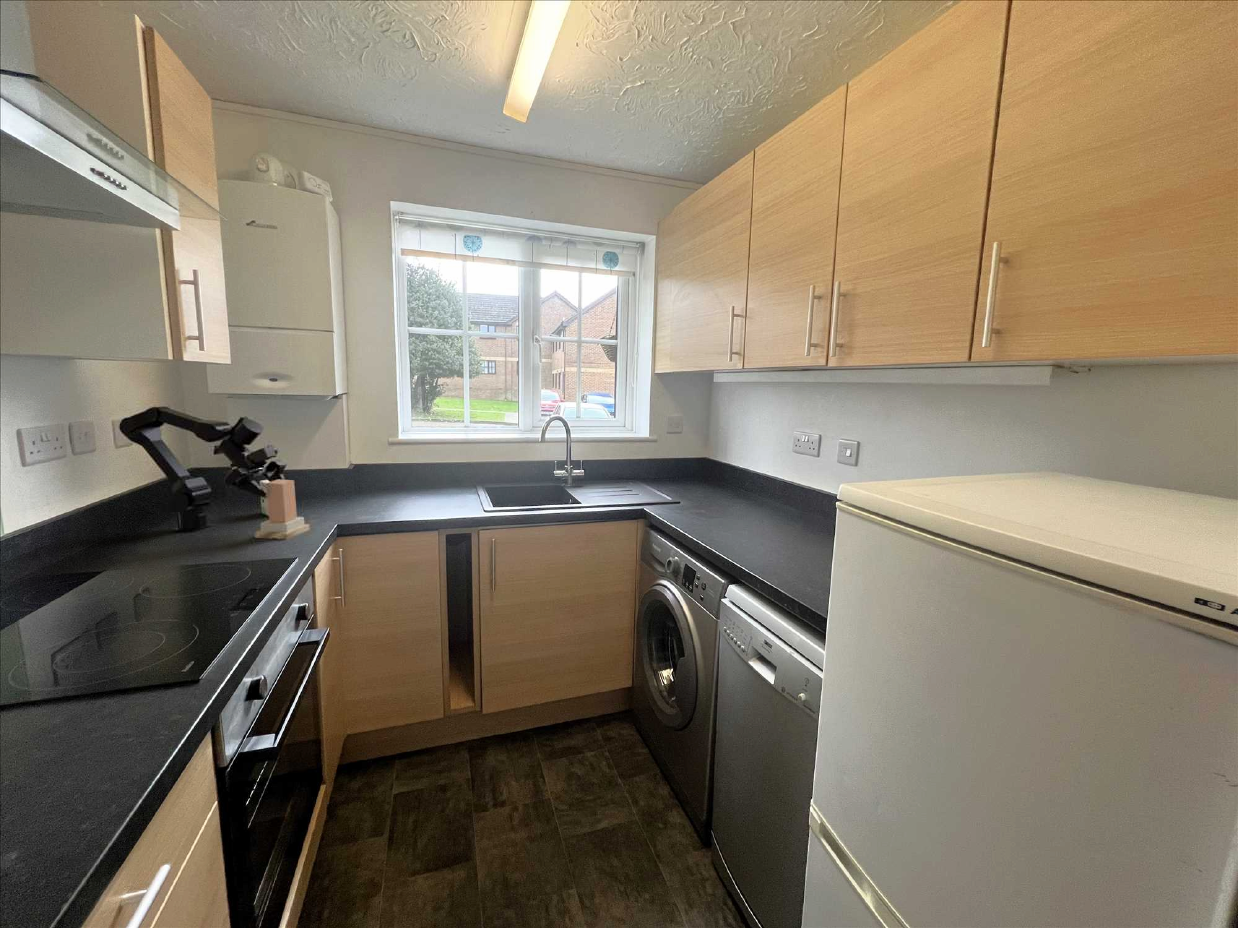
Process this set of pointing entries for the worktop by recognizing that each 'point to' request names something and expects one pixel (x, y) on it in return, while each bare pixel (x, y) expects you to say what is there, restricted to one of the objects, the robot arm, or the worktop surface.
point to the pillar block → (281, 501)
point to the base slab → (282, 533)
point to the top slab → (282, 525)
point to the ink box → (264, 498)
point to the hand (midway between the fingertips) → (276, 493)
